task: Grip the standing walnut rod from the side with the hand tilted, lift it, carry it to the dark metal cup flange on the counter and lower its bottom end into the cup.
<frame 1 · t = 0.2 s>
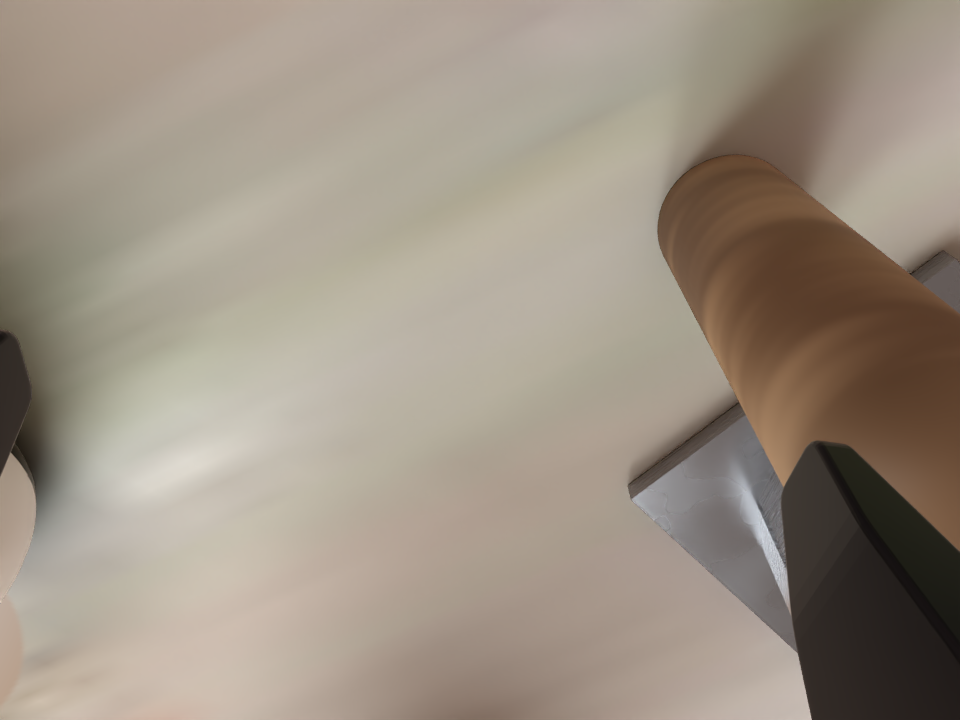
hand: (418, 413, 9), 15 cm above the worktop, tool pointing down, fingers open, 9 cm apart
brown wooden cylinder: (726, 224, 24), on the worktop
bracket: (880, 491, 28), on the worktop
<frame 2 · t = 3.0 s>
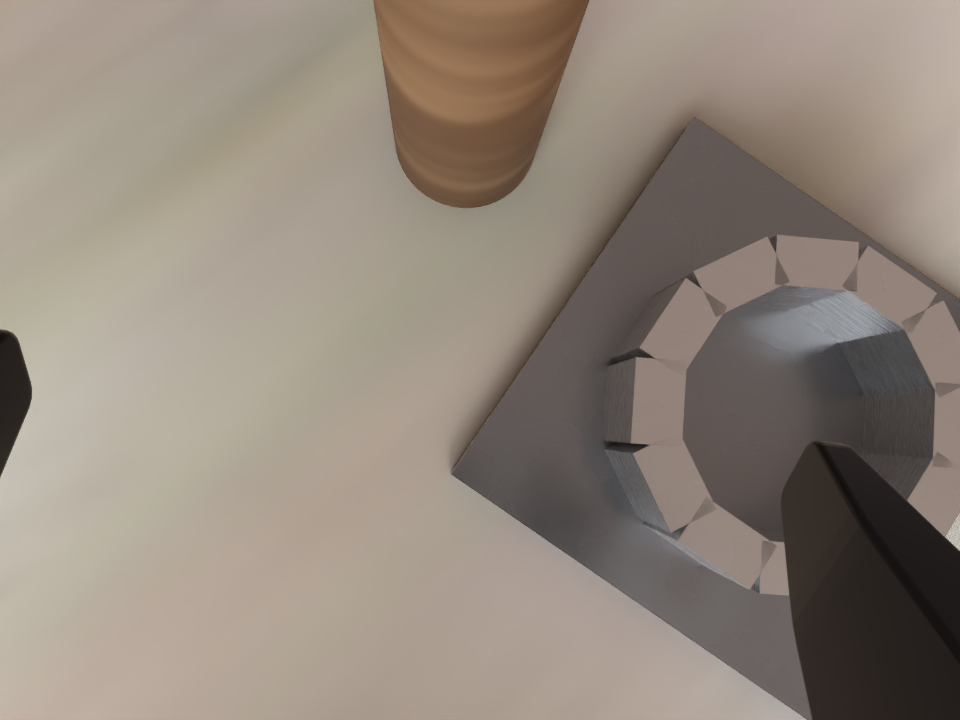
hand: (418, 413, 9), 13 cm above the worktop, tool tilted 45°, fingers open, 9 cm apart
brown wooden cylinder: (465, 138, 24), on the worktop
bracket: (746, 416, 23), on the worktop
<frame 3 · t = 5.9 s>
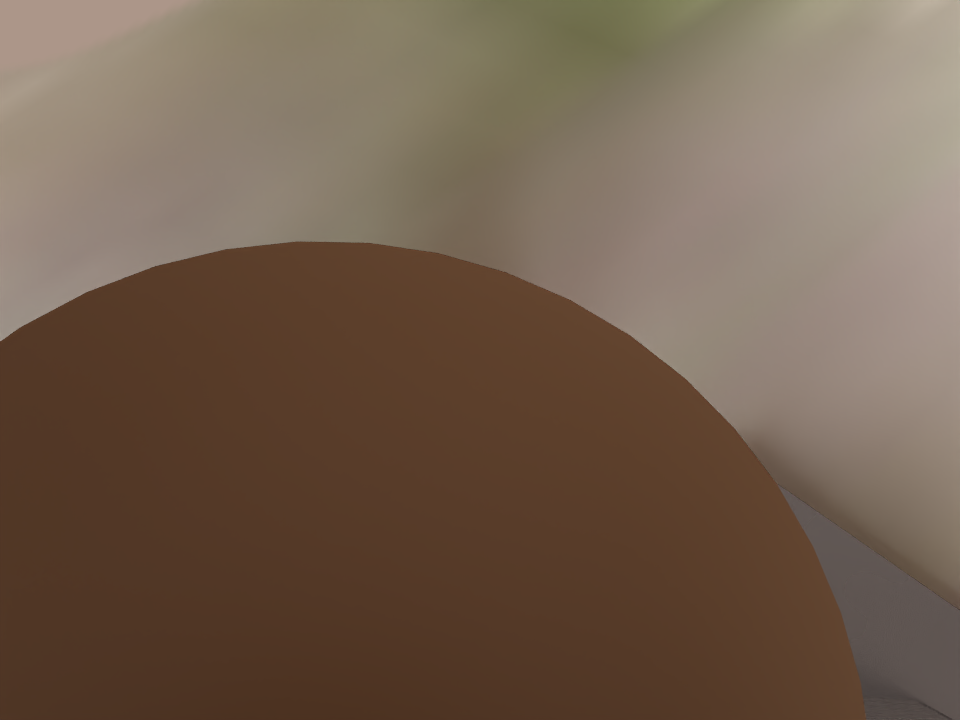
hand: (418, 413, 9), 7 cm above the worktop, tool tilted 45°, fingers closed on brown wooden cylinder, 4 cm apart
brown wooden cylinder: (415, 491, 16), on the worktop, touching gripper
when the fingers open (9 cm above the worktop, at t = 9.2 s): brown wooden cylinder drops 2 cm, resting on bracket.
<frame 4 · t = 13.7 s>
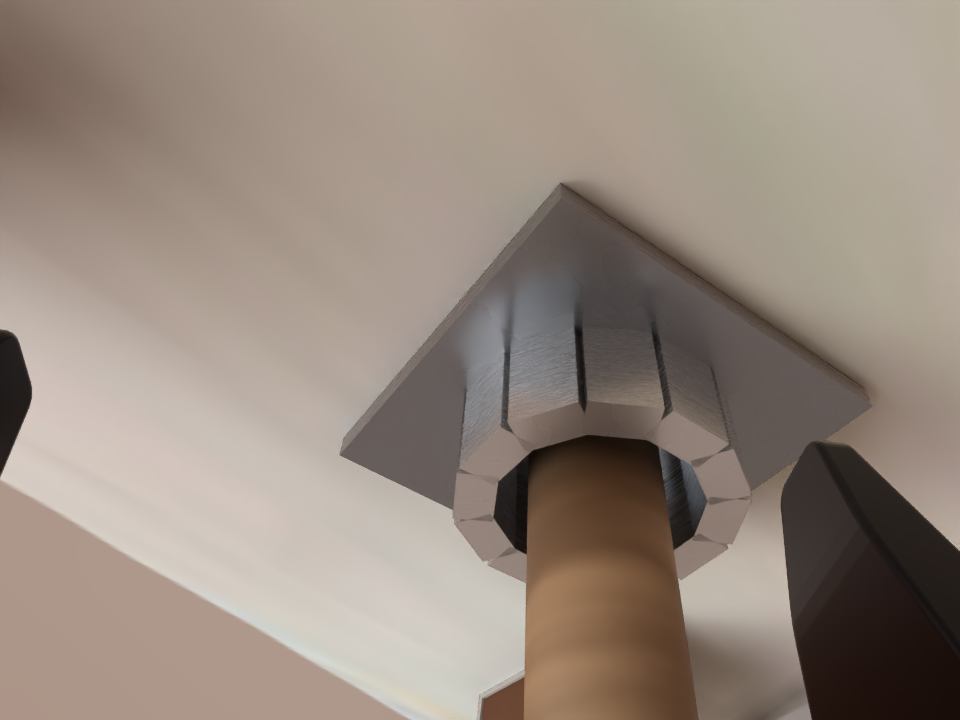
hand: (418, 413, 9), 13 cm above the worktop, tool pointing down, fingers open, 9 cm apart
brown wooden cylinder: (591, 430, 26), point 1 cm above the worktop, touching bracket
food container: (596, 678, 38), on the worktop
bracket: (591, 414, 27), on the worktop
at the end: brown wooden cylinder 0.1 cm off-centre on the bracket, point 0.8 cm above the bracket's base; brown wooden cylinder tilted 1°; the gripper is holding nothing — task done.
